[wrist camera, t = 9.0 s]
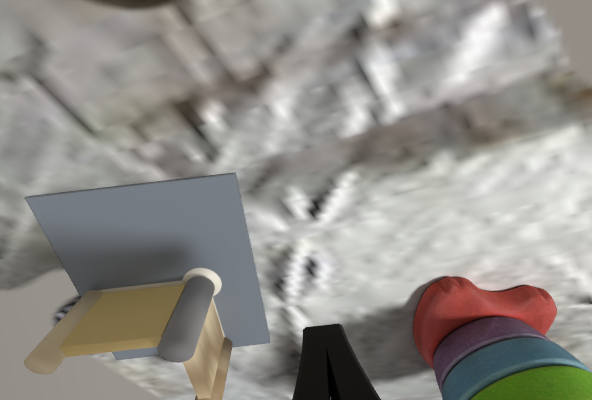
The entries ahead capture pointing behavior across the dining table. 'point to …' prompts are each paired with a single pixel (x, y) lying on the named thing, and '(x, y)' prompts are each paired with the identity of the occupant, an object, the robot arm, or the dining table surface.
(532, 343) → the stacking bear
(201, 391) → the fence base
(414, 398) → the dining table surface
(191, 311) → the fence panel
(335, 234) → the dining table surface
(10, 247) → the dining table surface
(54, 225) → the card
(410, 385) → the dining table surface
